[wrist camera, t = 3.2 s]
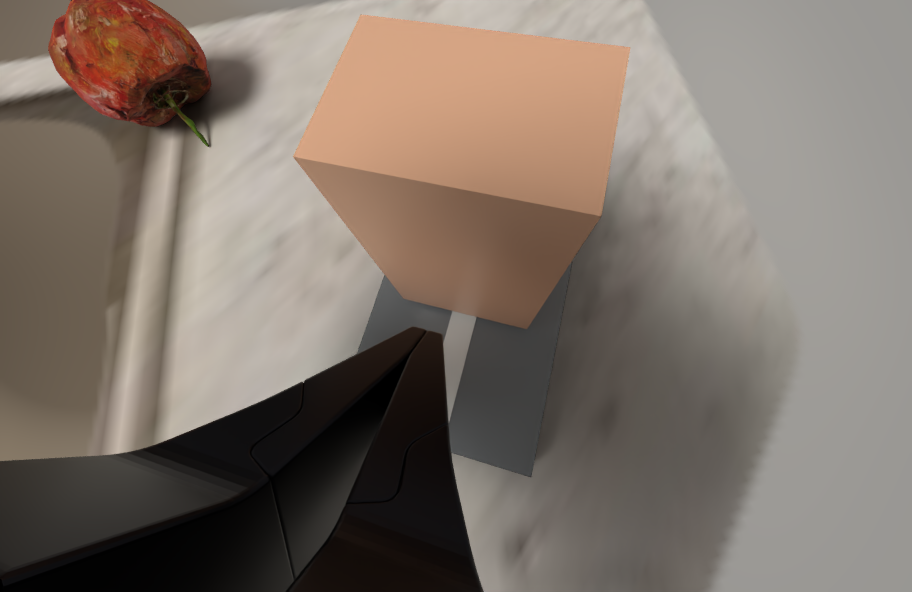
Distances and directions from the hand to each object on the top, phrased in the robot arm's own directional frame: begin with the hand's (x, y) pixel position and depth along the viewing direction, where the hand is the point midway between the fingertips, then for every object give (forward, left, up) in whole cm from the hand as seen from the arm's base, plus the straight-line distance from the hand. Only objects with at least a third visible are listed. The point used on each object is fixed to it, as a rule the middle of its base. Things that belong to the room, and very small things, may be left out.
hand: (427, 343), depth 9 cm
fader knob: (+4, -1, -6) cm, 8 cm away
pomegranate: (+18, +19, -9) cm, 28 cm away
